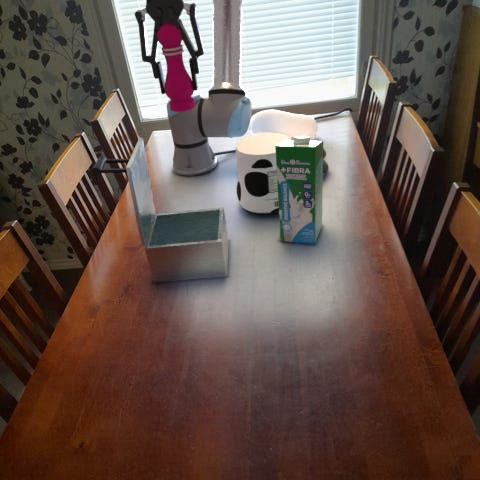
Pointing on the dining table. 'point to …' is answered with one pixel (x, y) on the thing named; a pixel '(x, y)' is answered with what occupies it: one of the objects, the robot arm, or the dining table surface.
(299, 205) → the milk carton
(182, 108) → the pepper mill
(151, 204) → the box lid
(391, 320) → the dining table surface
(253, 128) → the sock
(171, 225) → the metal tin
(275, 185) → the milk container
